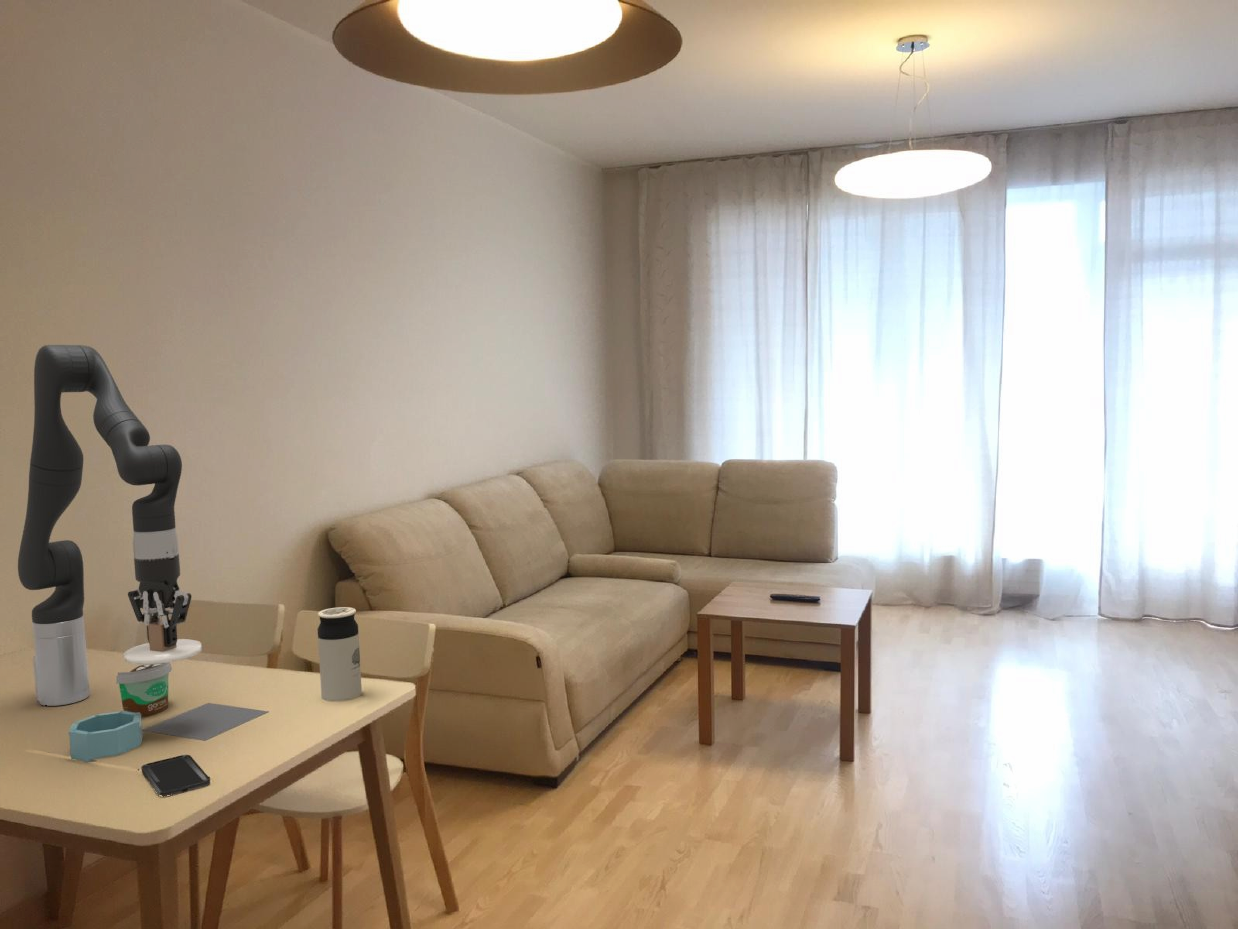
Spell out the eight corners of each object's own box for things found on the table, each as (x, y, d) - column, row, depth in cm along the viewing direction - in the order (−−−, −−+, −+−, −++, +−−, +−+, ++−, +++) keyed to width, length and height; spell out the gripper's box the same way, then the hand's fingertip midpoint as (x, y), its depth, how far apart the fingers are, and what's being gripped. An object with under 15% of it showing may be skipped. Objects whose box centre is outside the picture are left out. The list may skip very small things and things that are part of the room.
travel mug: (313, 702, 198) (308, 614, 197) (337, 689, 206) (332, 605, 204) (346, 705, 195) (341, 617, 194) (369, 693, 203) (365, 607, 201)
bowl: (58, 756, 173) (56, 729, 172) (113, 734, 183) (111, 708, 182) (102, 765, 168) (100, 736, 168) (155, 742, 179) (153, 715, 178)
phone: (188, 753, 171) (211, 780, 159) (189, 759, 171) (212, 787, 159) (139, 765, 166) (159, 794, 154) (139, 772, 166) (159, 801, 154)
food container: (147, 725, 188) (143, 674, 187) (119, 723, 189) (115, 673, 188) (188, 703, 200) (184, 655, 199) (161, 702, 201) (157, 654, 200)
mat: (141, 733, 183) (141, 730, 183) (208, 705, 198) (208, 702, 198) (205, 743, 177) (205, 740, 177) (269, 714, 192) (269, 711, 191)
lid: (108, 660, 178) (105, 628, 178) (165, 641, 190) (163, 611, 190) (161, 667, 173) (159, 634, 173) (217, 647, 185) (215, 616, 185)
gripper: (111, 555, 179) (118, 647, 181) (168, 559, 174) (175, 654, 175) (144, 548, 186) (151, 637, 188) (201, 551, 181) (207, 643, 182)
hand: (162, 644), depth 182 cm, fingers closed on lid, 3 cm apart
